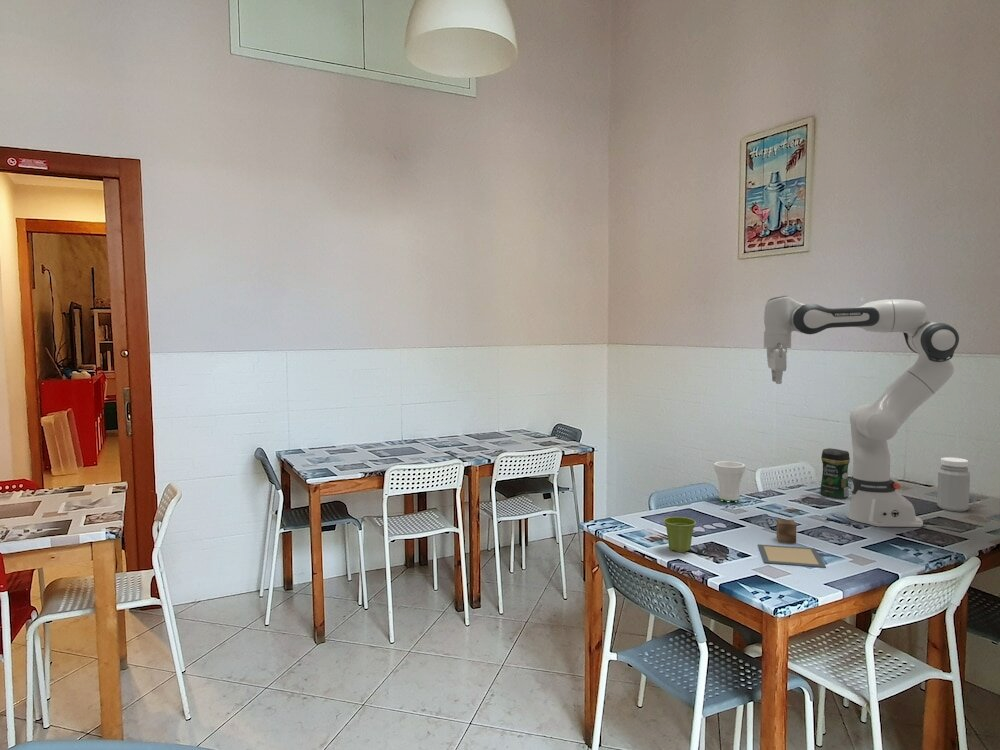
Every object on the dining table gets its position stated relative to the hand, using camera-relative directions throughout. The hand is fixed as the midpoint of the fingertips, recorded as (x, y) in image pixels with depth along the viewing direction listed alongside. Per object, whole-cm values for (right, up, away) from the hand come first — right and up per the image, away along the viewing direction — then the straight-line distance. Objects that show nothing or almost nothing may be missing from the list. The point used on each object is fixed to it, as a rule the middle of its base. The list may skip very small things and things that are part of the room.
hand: (776, 382), depth 234 cm
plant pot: (-43, -50, -32) cm, 73 cm away
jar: (+67, -46, +8) cm, 81 cm away
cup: (-9, -46, +22) cm, 52 cm away
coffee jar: (+34, -45, +27) cm, 62 cm away
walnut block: (-8, -49, -25) cm, 56 cm away
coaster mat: (-13, -50, -40) cm, 65 cm away
